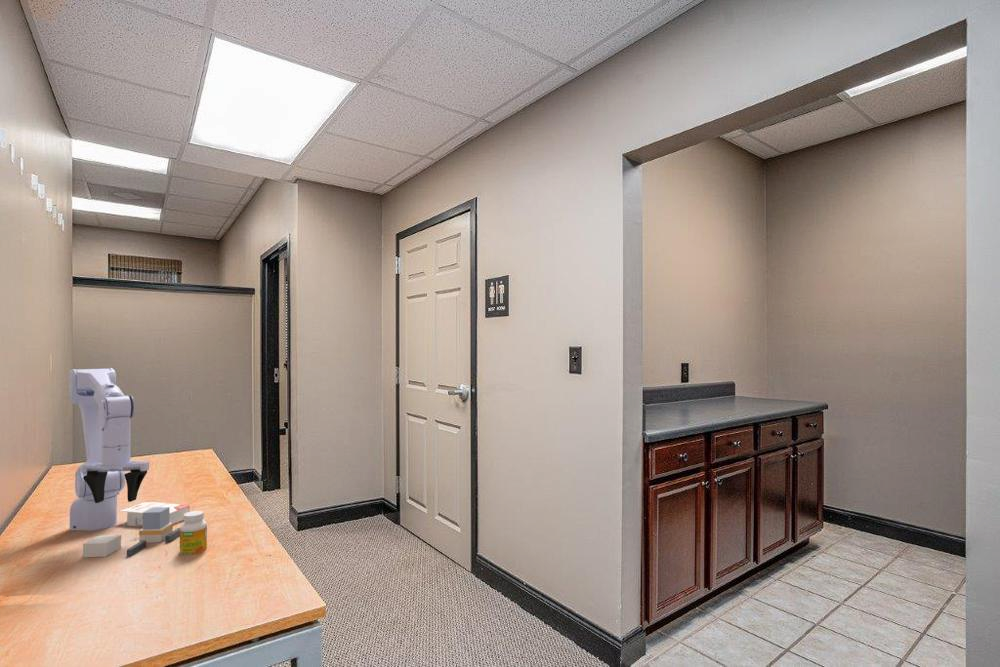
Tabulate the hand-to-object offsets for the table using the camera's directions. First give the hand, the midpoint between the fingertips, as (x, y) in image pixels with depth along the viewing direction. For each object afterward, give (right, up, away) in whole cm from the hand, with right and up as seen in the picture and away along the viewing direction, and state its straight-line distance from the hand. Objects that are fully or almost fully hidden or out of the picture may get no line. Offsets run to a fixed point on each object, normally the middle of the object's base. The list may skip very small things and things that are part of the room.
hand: (115, 501), depth 128 cm
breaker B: (+3, -9, -9) cm, 13 cm away
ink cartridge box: (+8, -8, +11) cm, 16 cm away
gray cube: (+10, -6, 0) cm, 12 cm away
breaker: (+10, -9, 0) cm, 14 cm away
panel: (+7, -10, -3) cm, 13 cm away
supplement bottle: (+23, -10, -7) cm, 26 cm away
